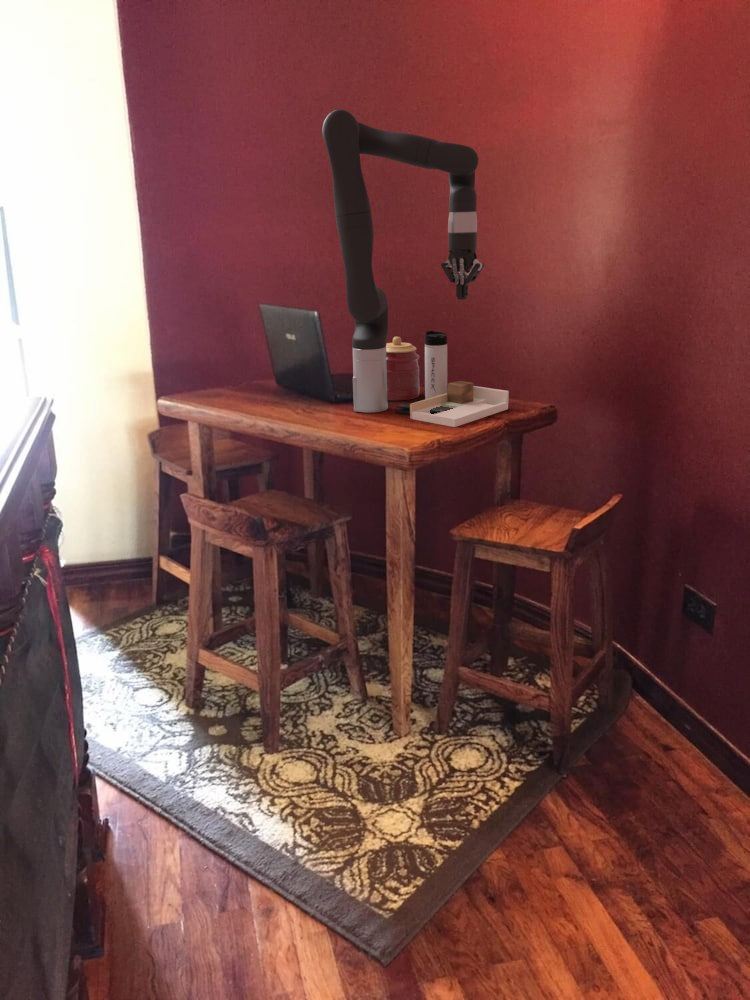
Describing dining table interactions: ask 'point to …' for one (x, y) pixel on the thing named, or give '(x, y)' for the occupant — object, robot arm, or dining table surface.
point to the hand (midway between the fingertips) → (461, 299)
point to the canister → (402, 371)
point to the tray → (461, 407)
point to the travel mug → (435, 364)
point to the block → (460, 392)
